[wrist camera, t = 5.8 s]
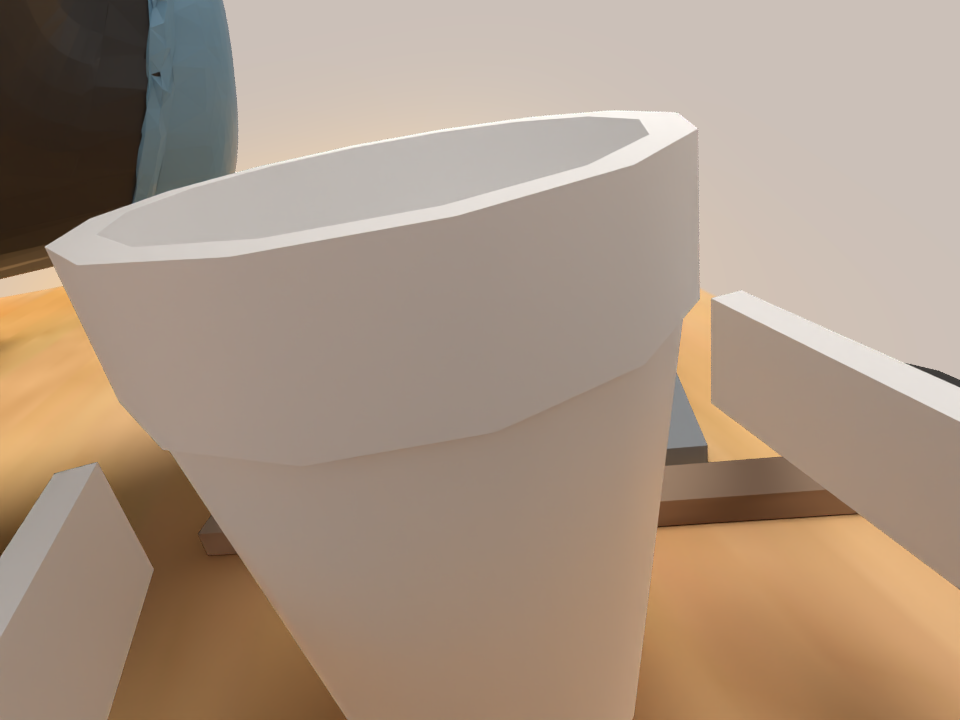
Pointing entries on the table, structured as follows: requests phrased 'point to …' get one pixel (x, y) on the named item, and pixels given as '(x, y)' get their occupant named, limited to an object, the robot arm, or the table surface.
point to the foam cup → (423, 395)
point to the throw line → (700, 496)
